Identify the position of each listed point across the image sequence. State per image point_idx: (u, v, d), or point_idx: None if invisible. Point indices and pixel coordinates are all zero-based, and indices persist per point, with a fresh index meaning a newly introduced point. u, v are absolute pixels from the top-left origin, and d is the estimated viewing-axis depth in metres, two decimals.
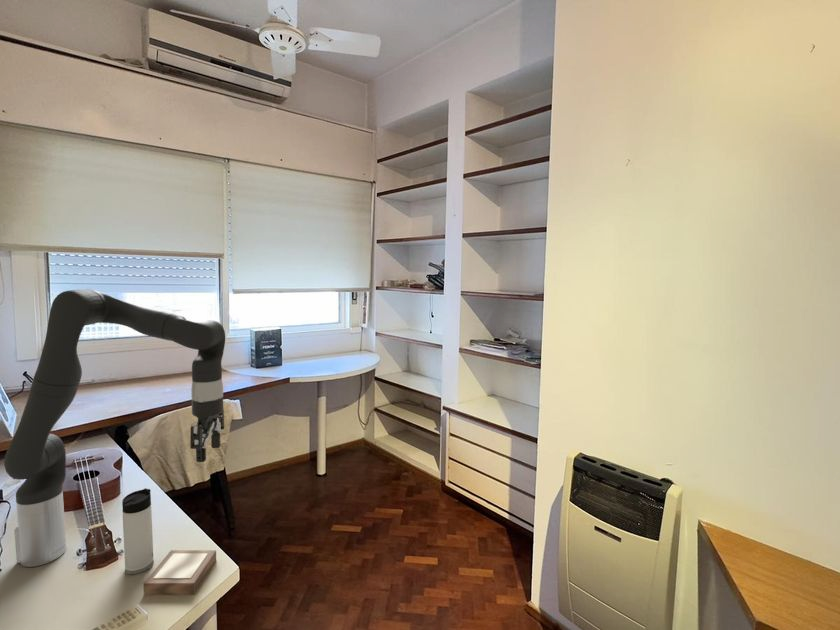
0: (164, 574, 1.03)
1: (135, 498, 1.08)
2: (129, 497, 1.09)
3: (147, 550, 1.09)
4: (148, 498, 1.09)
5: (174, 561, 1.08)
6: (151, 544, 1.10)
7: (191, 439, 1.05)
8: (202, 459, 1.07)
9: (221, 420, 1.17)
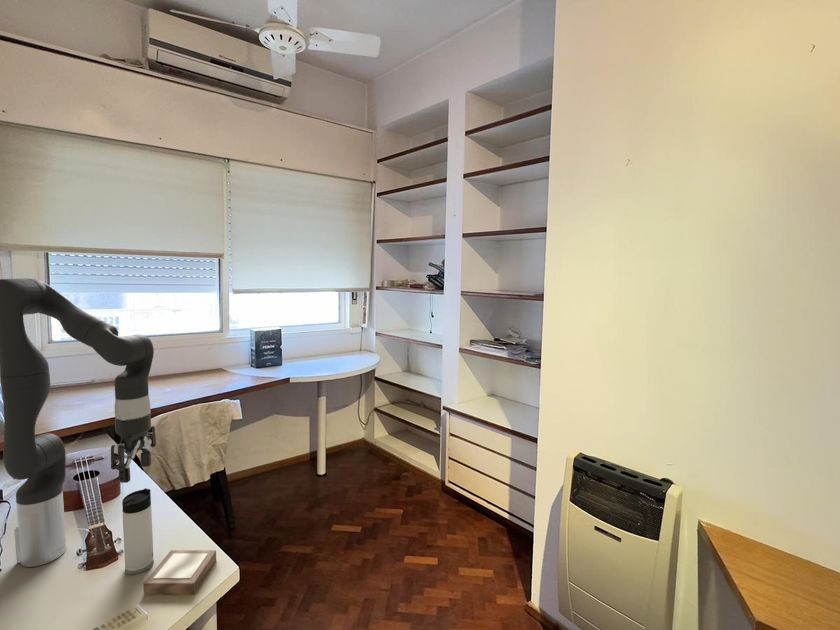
0: (164, 574, 1.03)
1: (135, 498, 1.08)
2: (129, 497, 1.09)
3: (147, 550, 1.09)
4: (148, 498, 1.09)
5: (174, 561, 1.08)
6: (151, 544, 1.10)
7: (111, 459, 1.00)
8: (125, 480, 1.03)
9: (152, 437, 1.13)
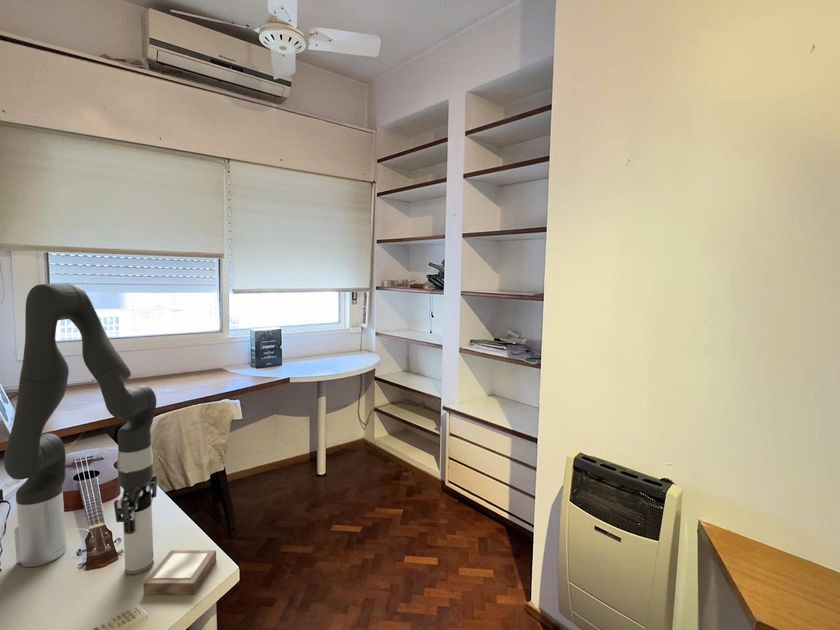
0: (164, 574, 1.03)
1: None
2: None
3: (147, 550, 1.09)
4: (148, 498, 1.09)
5: (174, 561, 1.08)
6: (151, 543, 1.10)
7: (116, 514, 1.02)
8: (130, 531, 1.05)
9: (153, 487, 1.14)
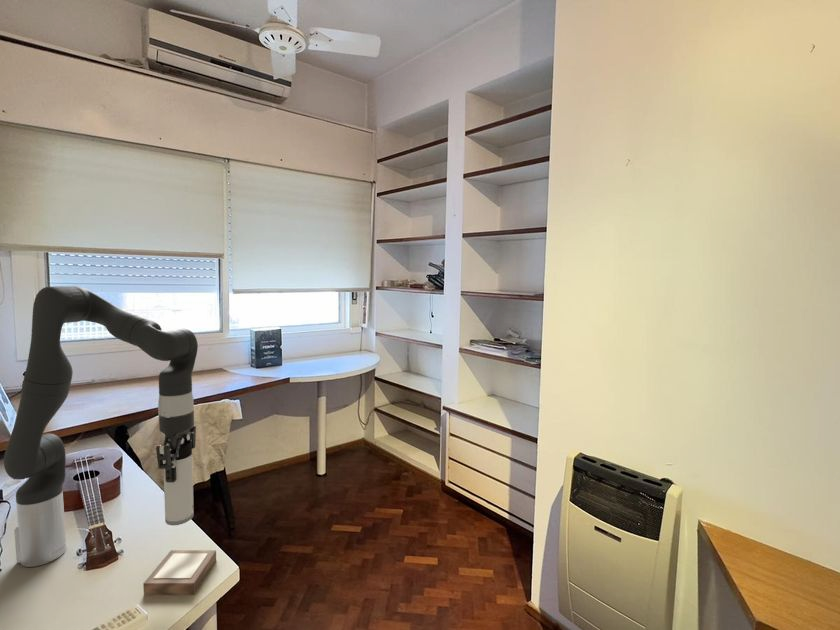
0: (164, 574, 1.03)
1: None
2: None
3: (188, 500, 1.04)
4: (190, 446, 1.04)
5: (174, 561, 1.08)
6: (191, 495, 1.05)
7: (158, 460, 0.97)
8: (172, 479, 1.00)
9: (192, 438, 1.09)
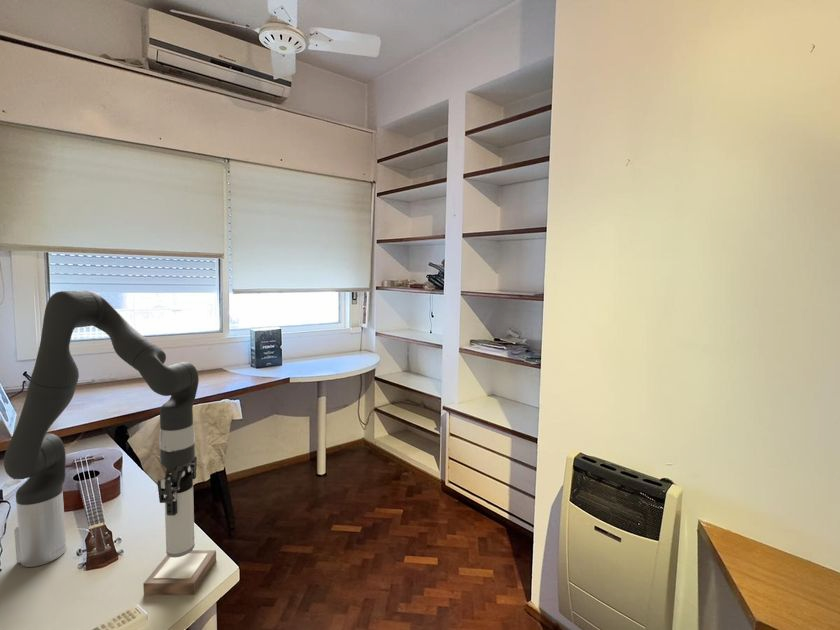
0: (164, 574, 1.03)
1: None
2: None
3: (189, 532, 1.05)
4: (191, 478, 1.05)
5: (174, 561, 1.08)
6: (192, 526, 1.06)
7: (159, 494, 0.98)
8: (173, 512, 1.01)
9: (193, 468, 1.10)
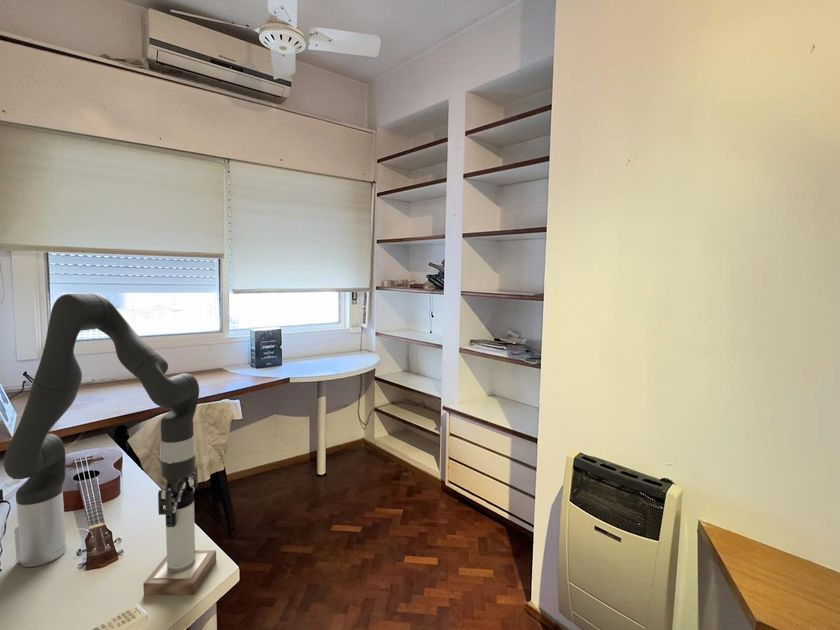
0: (164, 574, 1.03)
1: None
2: None
3: (190, 547, 1.05)
4: (191, 494, 1.05)
5: None
6: (193, 541, 1.07)
7: (159, 505, 0.98)
8: (172, 524, 1.01)
9: (194, 477, 1.10)
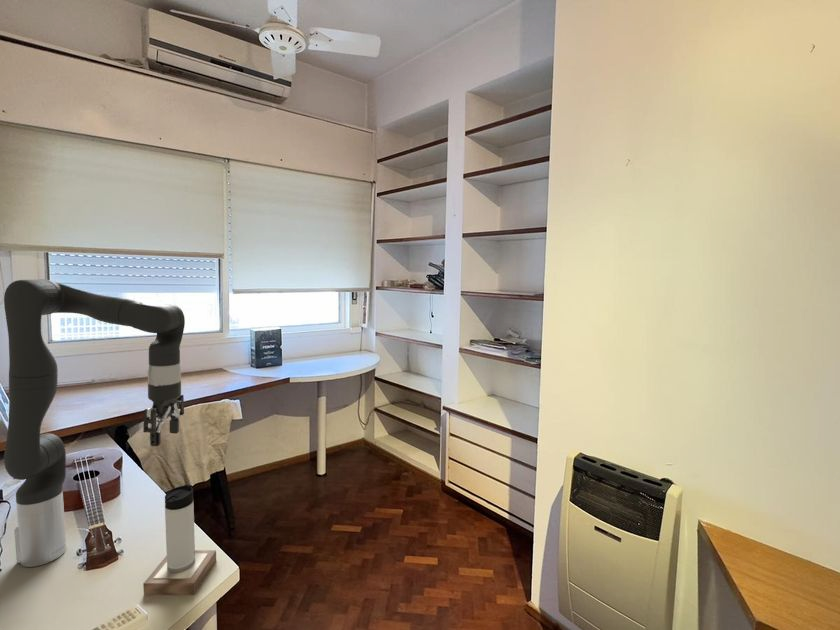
0: (164, 574, 1.03)
1: (178, 494, 1.05)
2: (171, 493, 1.05)
3: (190, 547, 1.05)
4: (191, 494, 1.05)
5: None
6: (193, 541, 1.07)
7: (144, 422, 1.04)
8: (156, 443, 1.07)
9: (180, 405, 1.17)
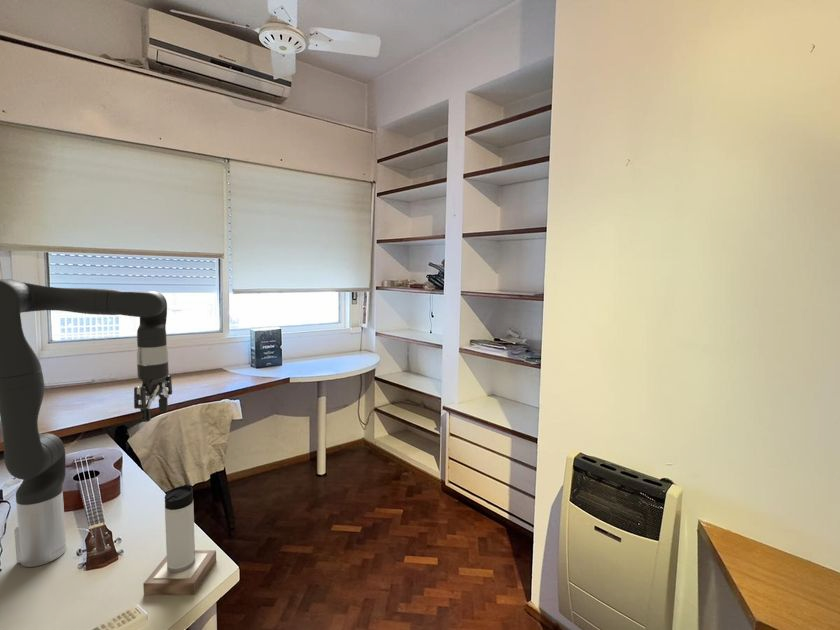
0: (164, 574, 1.03)
1: (178, 494, 1.05)
2: (171, 493, 1.05)
3: (190, 547, 1.05)
4: (191, 494, 1.05)
5: None
6: (193, 541, 1.07)
7: (135, 399, 1.13)
8: (146, 419, 1.16)
9: (168, 386, 1.26)
